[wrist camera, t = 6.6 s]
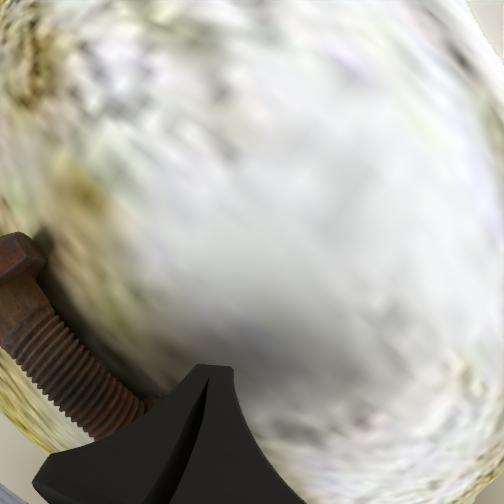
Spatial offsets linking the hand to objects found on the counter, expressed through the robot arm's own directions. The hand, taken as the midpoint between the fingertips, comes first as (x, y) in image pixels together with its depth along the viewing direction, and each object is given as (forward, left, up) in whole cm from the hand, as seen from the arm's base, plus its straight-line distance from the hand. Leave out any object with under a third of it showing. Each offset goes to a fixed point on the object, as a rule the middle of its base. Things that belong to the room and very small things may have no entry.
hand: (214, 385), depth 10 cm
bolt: (-2, +6, -2) cm, 6 cm away
